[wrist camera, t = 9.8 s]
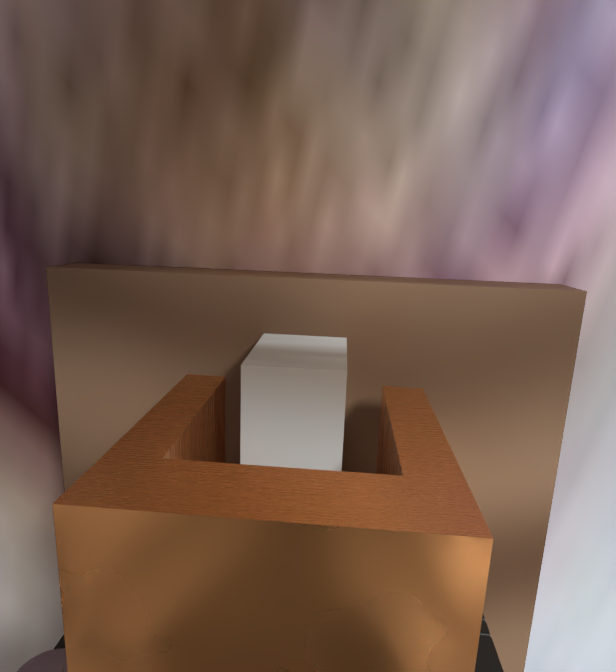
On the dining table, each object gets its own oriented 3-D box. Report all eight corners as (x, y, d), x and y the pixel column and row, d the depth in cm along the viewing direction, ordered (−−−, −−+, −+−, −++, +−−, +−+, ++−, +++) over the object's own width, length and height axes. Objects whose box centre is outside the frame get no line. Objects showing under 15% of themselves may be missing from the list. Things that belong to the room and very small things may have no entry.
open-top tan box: (187, 374, 13) (53, 503, 7) (422, 388, 12) (493, 538, 6) (192, 688, 15) (95, 986, 9) (391, 708, 15) (423, 1032, 9)
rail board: (75, 262, 15) (-40, 279, 10) (561, 284, 14) (662, 312, 9) (104, 676, 18) (26, 821, 14) (494, 714, 17) (547, 883, 13)
